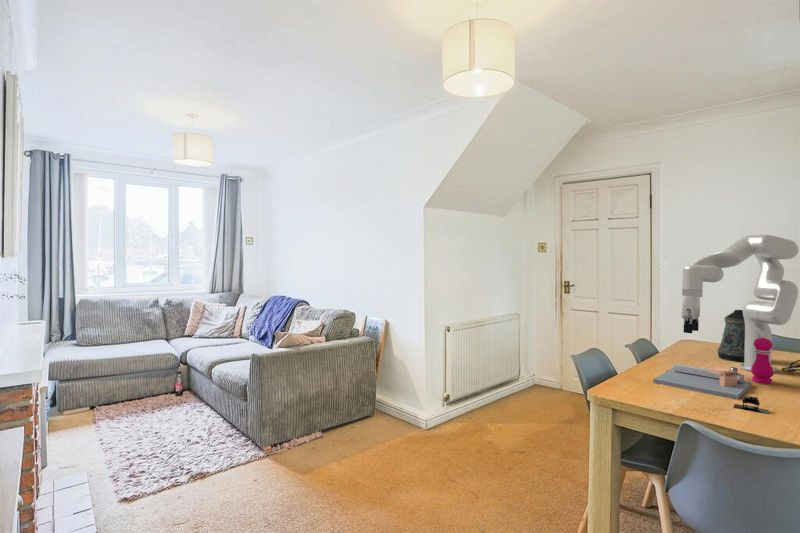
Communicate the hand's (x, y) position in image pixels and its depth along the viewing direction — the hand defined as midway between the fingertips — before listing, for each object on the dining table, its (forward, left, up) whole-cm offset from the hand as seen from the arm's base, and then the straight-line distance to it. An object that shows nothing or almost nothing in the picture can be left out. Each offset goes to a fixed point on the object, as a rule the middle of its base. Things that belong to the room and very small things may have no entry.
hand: (691, 331), depth 191 cm
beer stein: (-51, +9, -19) cm, 55 cm away
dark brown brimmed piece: (+37, +27, -19) cm, 49 cm away
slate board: (+15, +8, -19) cm, 25 cm away
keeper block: (+14, +14, -19) cm, 27 cm away
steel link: (+7, +8, -17) cm, 20 cm away
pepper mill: (-7, +24, -19) cm, 31 cm away
